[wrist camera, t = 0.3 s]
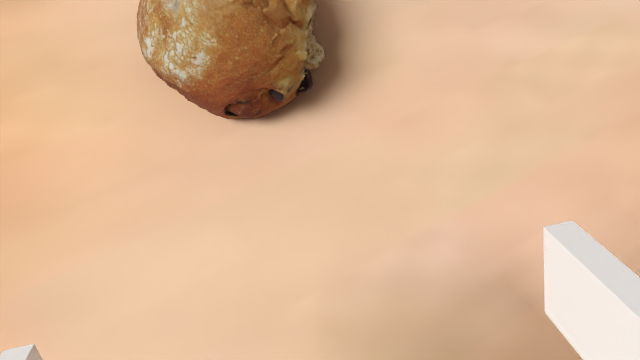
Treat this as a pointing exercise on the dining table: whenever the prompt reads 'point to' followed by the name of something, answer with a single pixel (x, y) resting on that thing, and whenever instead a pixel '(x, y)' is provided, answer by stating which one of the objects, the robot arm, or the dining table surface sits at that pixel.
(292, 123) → the dining table surface
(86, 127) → the dining table surface
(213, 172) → the dining table surface
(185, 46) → the bread roll
